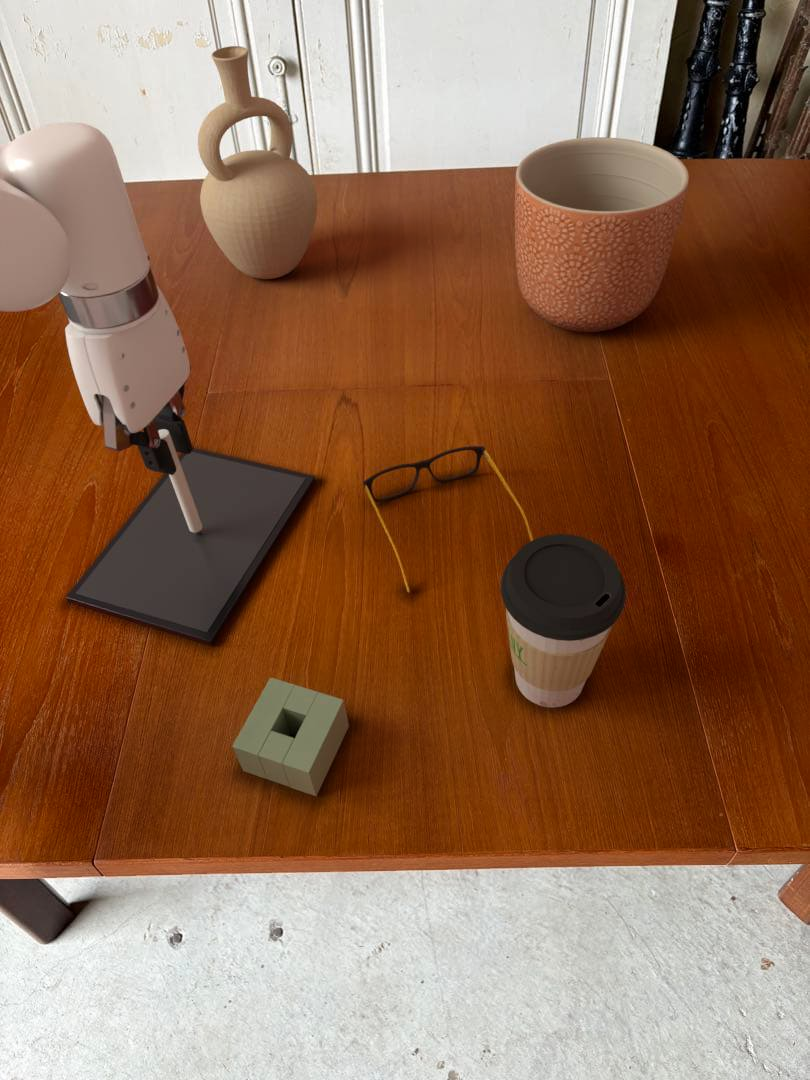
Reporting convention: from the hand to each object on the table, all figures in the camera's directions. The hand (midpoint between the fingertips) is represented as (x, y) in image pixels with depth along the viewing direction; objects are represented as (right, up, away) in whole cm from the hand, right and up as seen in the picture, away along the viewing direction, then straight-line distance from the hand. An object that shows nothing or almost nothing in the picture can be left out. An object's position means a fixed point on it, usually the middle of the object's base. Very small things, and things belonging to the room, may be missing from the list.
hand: (169, 458), depth 80 cm
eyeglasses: (+28, -7, +8) cm, 29 cm away
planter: (+48, +24, +34) cm, 64 cm away
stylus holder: (+14, -26, -8) cm, 31 cm away
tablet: (+1, -8, +9) cm, 12 cm away
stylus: (+1, -7, +8) cm, 11 cm away
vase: (+3, +34, +46) cm, 57 cm away
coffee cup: (+36, -21, -5) cm, 42 cm away
